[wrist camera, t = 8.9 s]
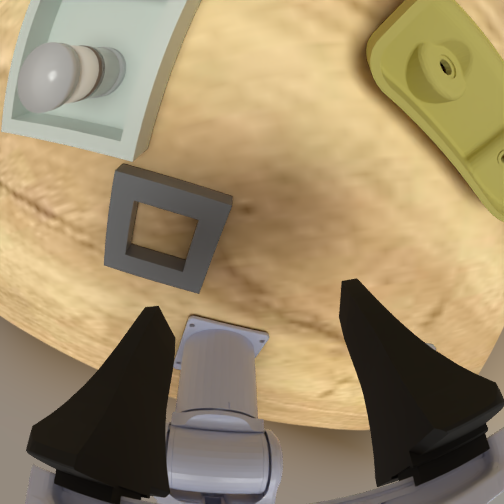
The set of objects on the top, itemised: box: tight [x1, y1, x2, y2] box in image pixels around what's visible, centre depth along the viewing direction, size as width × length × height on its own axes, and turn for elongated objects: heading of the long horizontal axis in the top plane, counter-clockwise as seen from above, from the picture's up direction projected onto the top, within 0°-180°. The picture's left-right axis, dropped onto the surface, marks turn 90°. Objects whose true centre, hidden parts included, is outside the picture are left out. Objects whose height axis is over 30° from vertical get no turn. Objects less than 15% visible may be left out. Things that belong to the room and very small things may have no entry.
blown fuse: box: [17, 42, 126, 113], centre depth 11 cm, size 3×3×6 cm
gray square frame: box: [104, 164, 233, 294], centre depth 20 cm, size 8×8×2 cm
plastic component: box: [366, 0, 504, 222], centre depth 13 cm, size 20×7×10 cm
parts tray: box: [1, 0, 201, 162], centre depth 12 cm, size 11×11×3 cm
